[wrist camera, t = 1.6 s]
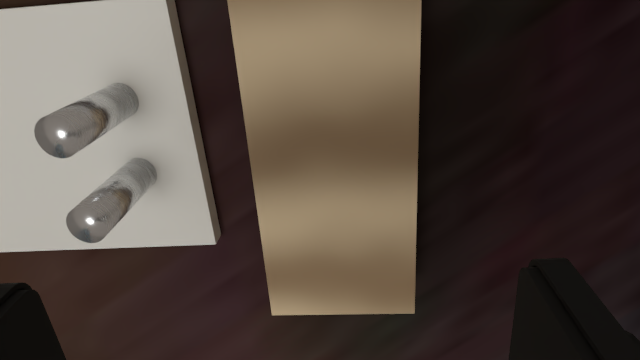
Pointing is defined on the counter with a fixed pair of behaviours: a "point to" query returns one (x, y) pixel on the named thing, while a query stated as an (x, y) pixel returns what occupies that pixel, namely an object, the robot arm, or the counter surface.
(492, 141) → the counter surface
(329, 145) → the oak shelf board
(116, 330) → the counter surface
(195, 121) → the peg stand
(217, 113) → the counter surface
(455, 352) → the counter surface
